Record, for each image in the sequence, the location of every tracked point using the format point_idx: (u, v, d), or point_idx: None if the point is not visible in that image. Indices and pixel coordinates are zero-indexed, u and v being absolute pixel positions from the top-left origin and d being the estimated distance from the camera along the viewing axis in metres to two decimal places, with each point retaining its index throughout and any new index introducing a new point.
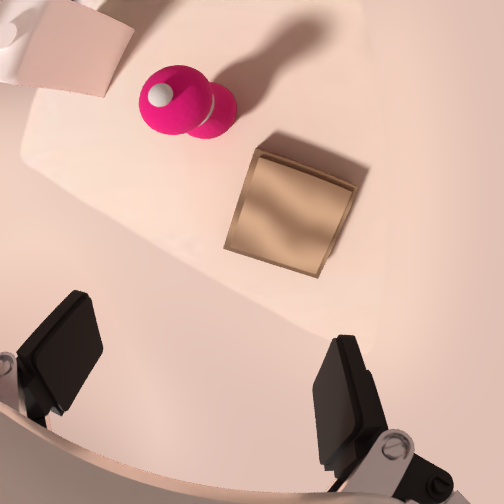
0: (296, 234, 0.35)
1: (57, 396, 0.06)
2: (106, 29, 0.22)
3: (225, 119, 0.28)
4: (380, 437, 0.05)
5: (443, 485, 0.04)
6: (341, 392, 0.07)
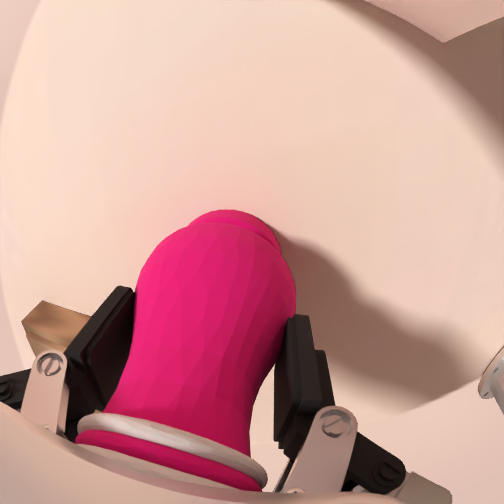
0: None
1: (105, 392, 0.07)
2: None
3: None
4: (320, 412, 0.06)
5: (393, 472, 0.04)
6: (288, 367, 0.08)
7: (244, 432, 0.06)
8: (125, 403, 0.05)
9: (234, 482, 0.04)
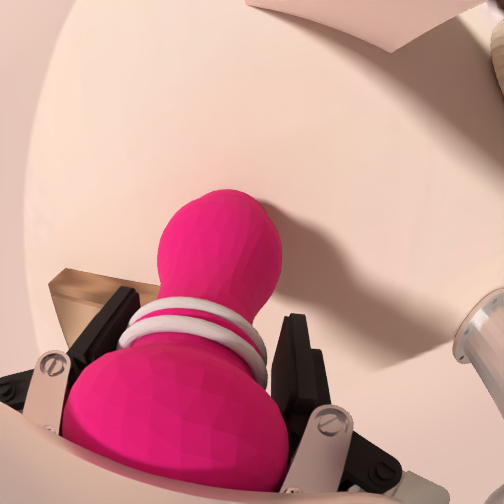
0: None
1: None
2: (407, 14, 0.09)
3: None
4: (315, 410, 0.06)
5: (388, 472, 0.04)
6: (285, 366, 0.08)
7: (249, 322, 0.09)
8: None
9: (246, 339, 0.08)
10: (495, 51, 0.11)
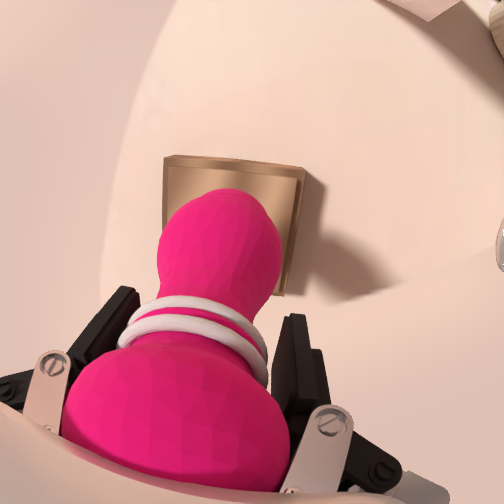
0: None
1: None
2: None
3: None
4: (315, 410, 0.06)
5: (388, 472, 0.04)
6: (285, 366, 0.08)
7: (249, 321, 0.09)
8: None
9: (246, 338, 0.08)
10: (492, 25, 0.14)
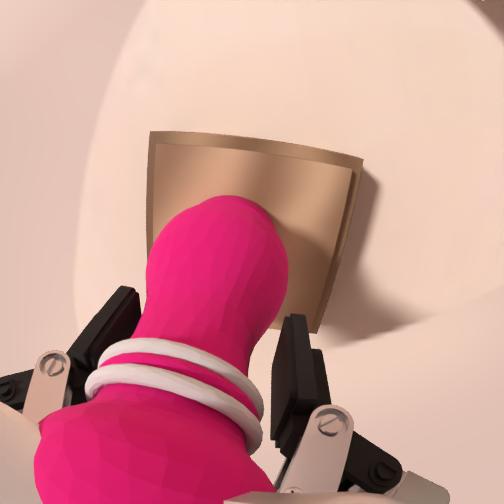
0: None
1: None
2: None
3: None
4: (316, 411, 0.06)
5: (389, 472, 0.04)
6: (285, 366, 0.08)
7: (243, 364, 0.07)
8: (144, 335, 0.07)
9: (235, 395, 0.06)
10: None
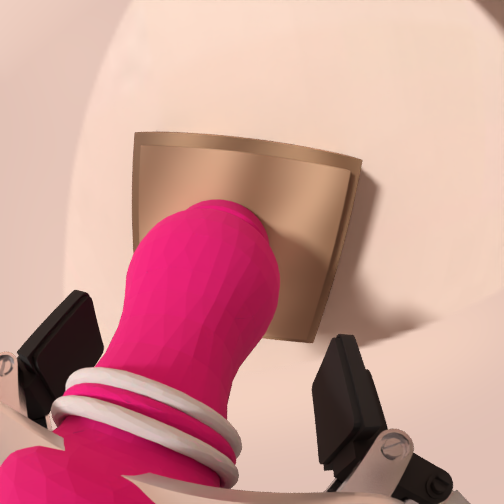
0: None
1: (58, 396, 0.06)
2: None
3: None
4: (379, 437, 0.05)
5: (442, 485, 0.04)
6: (340, 392, 0.07)
7: (220, 395, 0.06)
8: (110, 361, 0.06)
9: (203, 436, 0.05)
10: None
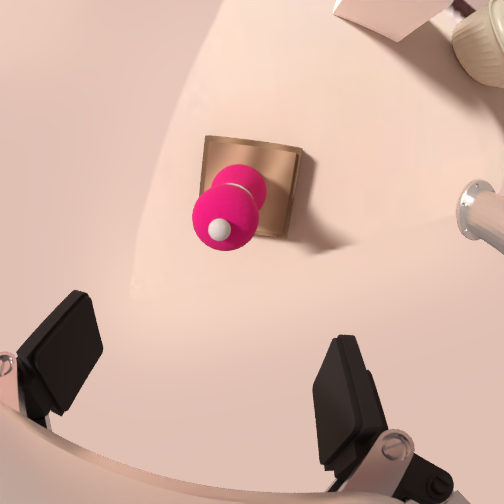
0: None
1: (57, 396, 0.06)
2: (403, 25, 0.24)
3: None
4: (380, 437, 0.05)
5: (443, 485, 0.04)
6: (341, 392, 0.07)
7: None
8: None
9: None
10: (453, 40, 0.26)
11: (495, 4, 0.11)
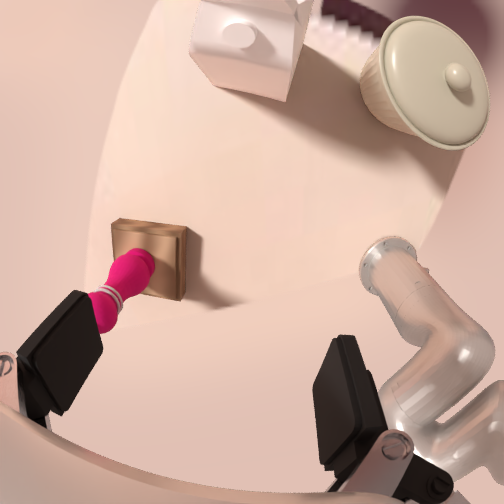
0: None
1: (57, 396, 0.06)
2: (274, 91, 0.33)
3: None
4: (380, 437, 0.05)
5: (443, 485, 0.04)
6: (341, 392, 0.07)
7: (120, 292, 0.37)
8: None
9: (114, 294, 0.35)
10: None
11: (393, 33, 0.20)
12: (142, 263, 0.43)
